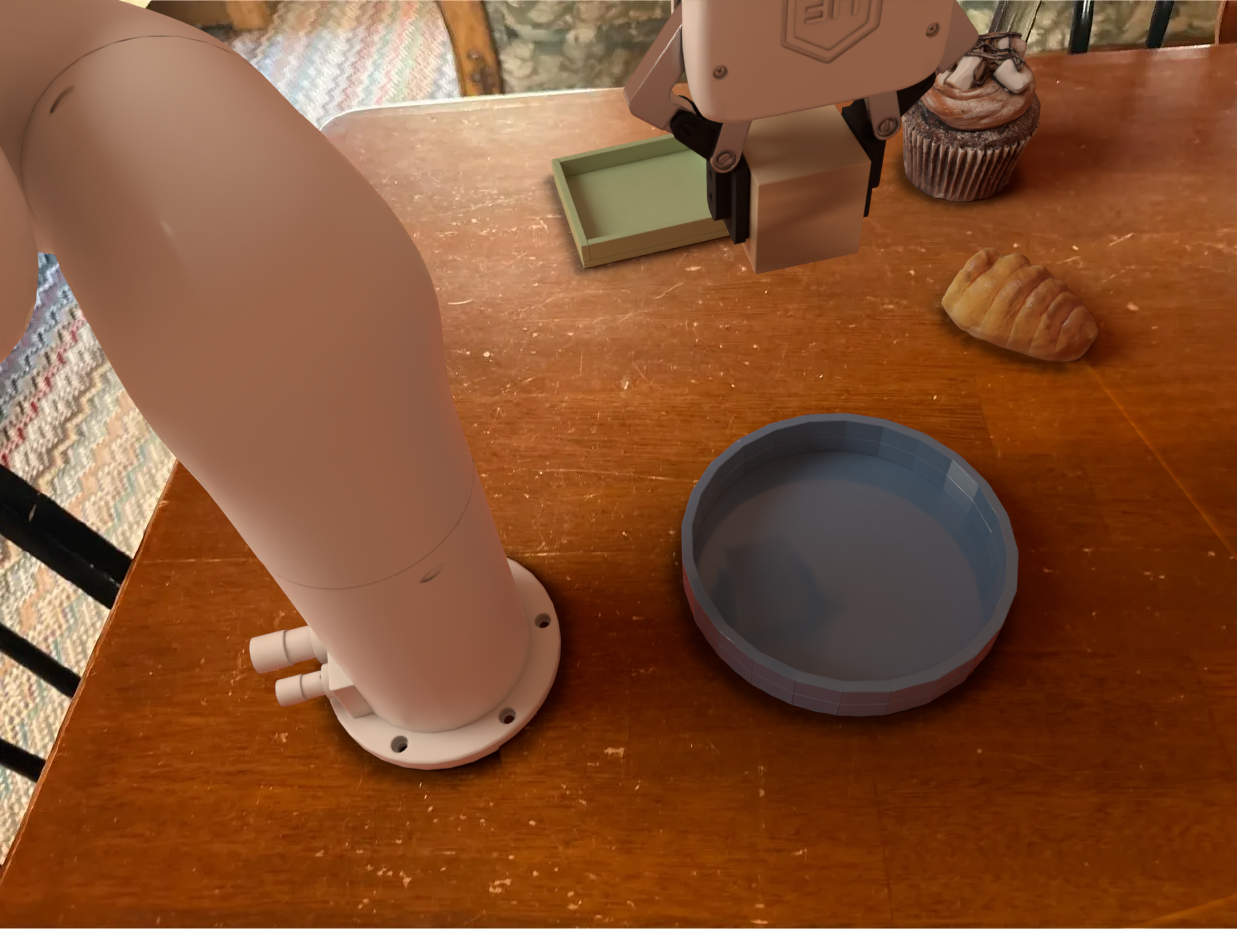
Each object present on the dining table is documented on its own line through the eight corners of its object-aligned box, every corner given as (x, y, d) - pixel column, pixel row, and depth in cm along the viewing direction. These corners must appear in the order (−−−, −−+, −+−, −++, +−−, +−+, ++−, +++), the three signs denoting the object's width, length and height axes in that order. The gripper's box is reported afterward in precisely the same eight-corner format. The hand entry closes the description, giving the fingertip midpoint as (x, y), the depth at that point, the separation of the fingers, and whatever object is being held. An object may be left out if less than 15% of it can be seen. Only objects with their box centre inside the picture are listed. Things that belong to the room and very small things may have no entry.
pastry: (1110, 330, 61) (1130, 286, 58) (1055, 389, 59) (1073, 347, 56) (983, 268, 66) (995, 225, 63) (926, 321, 63) (936, 278, 60)
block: (754, 275, 43) (757, 184, 39) (725, 210, 46) (725, 119, 42) (858, 253, 44) (872, 161, 40) (822, 189, 47) (831, 98, 43)
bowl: (739, 759, 46) (740, 733, 43) (649, 489, 57) (646, 453, 54) (1063, 670, 47) (1085, 639, 45) (918, 422, 58) (928, 384, 55)
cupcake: (881, 139, 76) (901, 17, 68) (1003, 128, 75) (1037, 4, 67) (906, 213, 70) (931, 90, 62) (1039, 203, 69) (1080, 77, 61)
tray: (583, 268, 69) (580, 246, 68) (554, 181, 76) (550, 159, 74) (742, 232, 70) (742, 209, 68) (699, 149, 77) (698, 126, 75)
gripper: (581, -162, 27) (631, 303, 41) (1140, -265, 28) (999, 225, 42) (542, -243, 32) (599, 201, 46) (1023, -330, 32) (932, 133, 47)
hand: (791, 209), depth 44 cm, fingers closed on block, 5 cm apart
